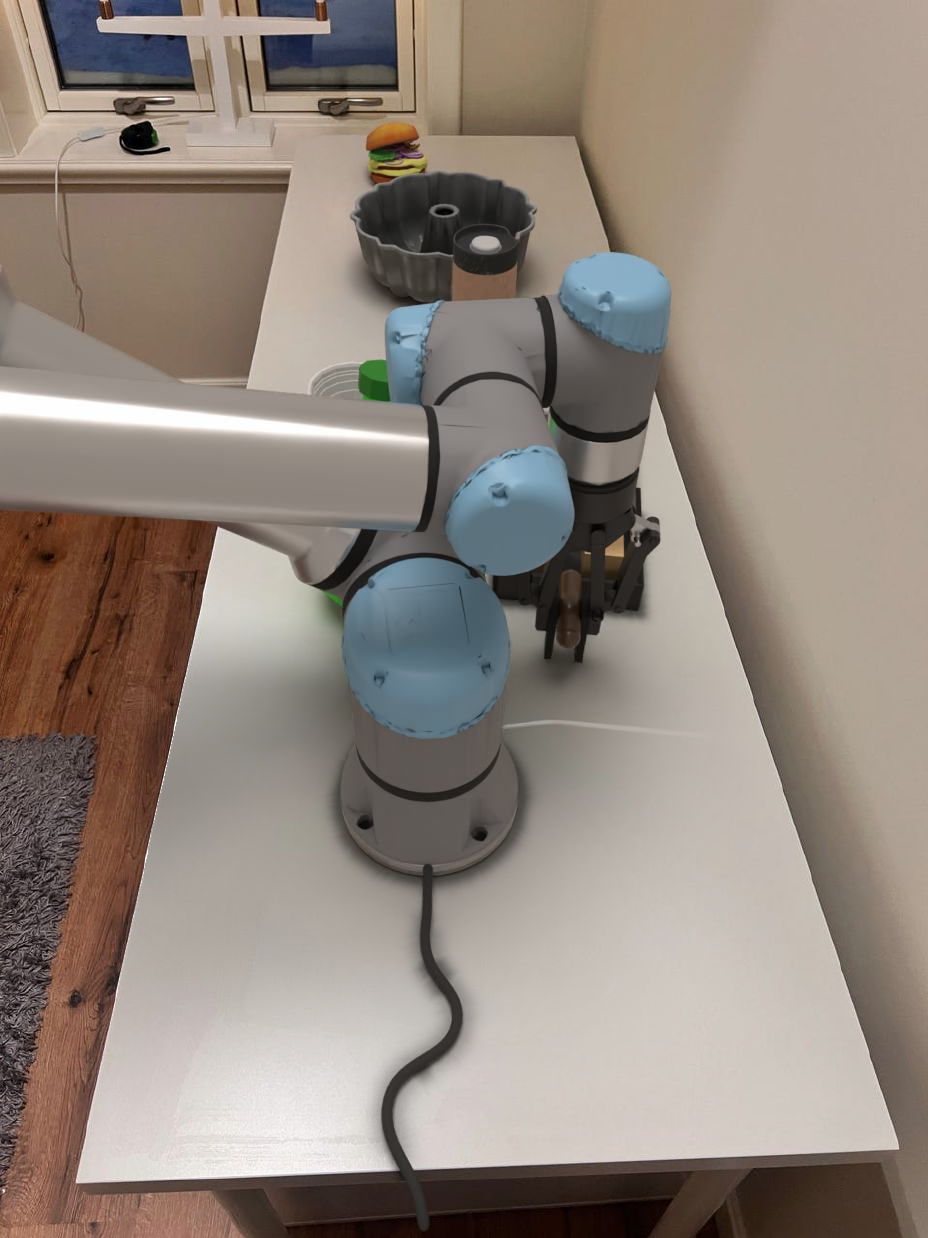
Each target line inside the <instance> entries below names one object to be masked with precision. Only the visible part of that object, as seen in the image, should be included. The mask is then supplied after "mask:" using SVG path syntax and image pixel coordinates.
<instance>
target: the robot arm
mask: <svg viewBox="0 0 928 1238" xmlns="http://www.w3.org/2000/svg"><path fill="white" fill-rule="evenodd" d="M671 287H672V286H671V284H670V281H669V279H668V278H667V277H666V274H665V273H664V272H663V271H662V269H660V268H659V267H658V266H657V265H655V264H654V263H652V262H651V261H649V260H647V259H645V258H643V257H640V256H636V255H633V254H629V253H625V252H624V253H623V252H614V251H607V252H606V251H605V252H595V253H592V254H589V256H588V258H587V257H582V258H578V259H576V260H574V261H573V262H571V263H570V264H569V265H568V267H567V268H566V269H565V270H564V273H563V276H562V281H561V284H559V288H558V289H557V290H558V291H557V294H547V295H546V294H543V295H541V296H537V297H515V298H511V299H489V300H468V301H447V302H445V301H443V300H441V299H439V300H436V301H434V302H430V303H423V304H417V305H416V304H415V305H408V306H399V307H397V308H394V309H393V310H392V311H390V312H389V313H388V315H387V317H386V319H385V323H384V351H385V360H386V367H387V378H388V387H389V395H390V401H391V402H384V401H373V400H362V399H352V398H341V397H330V396H319V395H308V394H307V393H295V392H285V391H275V390H274V391H273V390H264V389H254V388H253V389H252V388H242V387H232V386H231V387H230V386H221V385H210V384H209V385H208V384H198V383H187V382H184V381H182V380H180V379H179V378H176V377H175V376H172V375H170V374H169V373H166V372H164V371H162V370H160V369H158V368H156V367H154V366H152V365H150V364H148V363H146V362H144V361H142V360H140V359H138V358H136V357H134V356H132V355H130V354H128V353H126V352H123V351H122V350H120V349H118V348H115V347H114V346H111V345H110V344H108V343H105V342H104V341H101V340H99V339H98V338H95V337H93V336H91V335H89V334H88V333H85V332H83V331H81V330H79V329H77V328H75V327H73V326H71V325H69V324H67V323H65V322H63V321H61V320H59V319H57V318H55V317H53V316H51V315H49V314H47V313H45V312H43V311H41V310H39V309H37V308H35V307H33V306H31V305H29V304H27V303H25V302H22V301H21V299H20V298H19V297H18V296H17V295H16V293H15V291H14V289H13V286H12V284H11V282H10V279H9V277H8V276H7V273H6V271H5V269H4V267H3V265H2V264H0V511H10V512H11V511H12V512H13V511H15V512H29V513H30V512H31V513H51V514H68V515H69V514H72V515H86V516H87V515H88V516H107V517H108V516H110V517H127V518H147V519H163V520H164V519H167V520H184V521H185V520H186V521H203V522H206V523H208V524H211V525H213V526H215V527H218V528H220V529H223V530H225V531H227V532H230V533H232V534H234V535H237V536H240V537H242V538H243V539H247V540H249V541H251V542H254V543H256V544H259V545H261V546H263V547H265V548H268V549H271V550H273V551H276V552H278V553H281V554H282V555H286V556H287V557H288V560H289V563H290V565H291V568H292V570H293V574H294V576H295V577H296V579H297V580H298V581H299V582H301V583H302V584H304V585H308V586H310V587H312V588H315V589H318V590H319V591H322V592H323V591H325V592H327V593H330V594H332V595H335V596H337V597H339V598H340V599H341V600H342V606H341V609H342V610H341V612H342V621H343V634H342V636H341V659H342V665H343V670H344V673H345V676H346V678H347V684H348V691H349V700H350V701H349V702H350V708H351V718H352V725H353V732H354V733H353V734H354V740H355V741H354V743H353V744H352V747H351V750H350V751H349V754H348V755H347V757H346V760H345V763H344V766H343V768H342V771H341V775H340V782H339V799H340V806H341V812H342V816H343V820H344V823H345V826H346V828H347V830H348V832H349V834H350V836H351V837H352V839H353V840H354V842H355V843H356V845H358V847H359V848H360V849H361V851H363V852H364V853H365V854H366V855H368V856H369V857H370V858H372V859H373V860H375V861H376V862H377V863H378V864H380V865H382V866H384V867H386V868H389V869H391V870H394V871H397V872H400V873H403V874H407V875H414V876H422V895H421V898H422V901H421V916H420V917H421V918H420V927H419V946H420V953H421V957H422V960H423V963H424V965H425V967H426V969H427V970H428V973H429V974H430V976H431V978H432V979H433V980H434V981H435V983H436V984H437V986H438V987H439V988H440V990H441V991H442V992H443V994H444V995H445V997H446V999H447V1000H448V1002H449V1006H450V1009H451V1022H450V1025H449V1029H448V1031H447V1032H446V1034H445V1035H444V1036H443V1038H442V1039H440V1041H439V1042H437V1043H436V1044H435V1045H434V1046H432V1047H430V1049H428V1050H426V1051H425V1052H423V1053H422V1054H420V1055H418V1056H417V1057H415V1058H414V1059H412V1060H410V1061H409V1062H408V1063H406V1064H405V1065H404V1066H403V1067H401V1068H400V1069H399V1070H398V1072H396V1073H395V1075H394V1076H393V1077H392V1078H391V1080H390V1081H389V1082H388V1085H387V1087H386V1088H385V1092H384V1094H383V1098H382V1103H381V1117H380V1118H381V1127H382V1132H383V1135H384V1139H385V1142H386V1145H387V1147H388V1150H389V1151H390V1153H391V1154H390V1155H391V1156H392V1159H393V1161H394V1163H395V1165H397V1168H398V1170H399V1172H400V1174H401V1176H402V1178H403V1180H404V1181H405V1184H406V1185H407V1186H406V1187H407V1189H408V1191H409V1193H410V1196H411V1199H412V1202H413V1206H414V1210H415V1215H416V1221H417V1226H418V1228H419V1230H420V1231H421V1232H426V1231H428V1230H429V1228H430V1215H429V1210H428V1205H427V1200H426V1197H425V1193H424V1190H423V1188H422V1185H421V1183H420V1181H419V1179H418V1176H417V1174H416V1172H415V1170H414V1168H413V1166H412V1164H411V1162H410V1160H409V1159H408V1156H407V1155H406V1153H405V1151H404V1149H403V1147H402V1145H401V1143H400V1140H399V1138H398V1135H397V1132H396V1128H395V1123H394V1104H395V1100H396V1096H397V1094H398V1091H399V1089H400V1087H401V1085H402V1084H403V1083H405V1082H406V1080H408V1078H409V1077H411V1076H412V1075H413V1074H415V1073H417V1072H418V1071H419V1070H421V1069H422V1068H424V1067H426V1066H427V1065H428V1064H430V1063H432V1062H433V1061H435V1060H436V1059H438V1058H439V1057H440V1056H442V1055H443V1054H444V1053H445V1052H446V1051H448V1050H449V1049H450V1048H451V1046H452V1045H453V1044H454V1043H455V1041H456V1040H457V1038H458V1036H459V1034H460V1032H461V1028H462V1024H463V1016H464V1012H463V1005H462V1003H461V1000H460V997H459V995H458V993H457V991H456V990H455V988H454V987H453V985H452V984H451V983H450V981H449V980H448V978H447V977H446V976H445V974H444V973H443V972H442V970H441V969H440V967H439V965H438V964H437V962H436V960H435V957H434V954H433V951H432V945H431V926H432V916H433V881H434V879H433V876H434V877H435V876H442V875H443V876H444V875H448V874H449V875H450V874H453V873H457V872H460V871H463V870H466V869H468V868H470V867H472V866H474V865H476V864H478V863H480V862H481V861H483V860H484V859H485V858H487V857H488V856H490V855H491V854H492V853H493V852H494V851H496V849H497V848H498V847H500V845H501V844H502V843H503V841H504V840H505V839H506V837H507V835H508V834H509V832H510V830H511V828H512V826H513V823H514V821H515V818H516V813H517V811H518V810H517V809H518V801H519V794H520V793H519V788H520V786H519V785H520V783H519V776H518V772H517V771H518V770H517V768H516V765H515V762H514V760H513V758H512V755H511V753H510V751H509V750H508V747H507V746H506V744H505V741H504V740H503V738H502V736H503V735H502V734H503V725H504V713H505V712H504V711H505V701H506V691H507V682H508V679H507V678H508V675H509V673H510V667H511V654H512V650H511V646H512V645H511V644H512V643H511V642H512V641H511V636H510V630H509V627H508V621H507V617H506V613H505V610H504V608H503V605H502V603H501V601H500V599H498V597H497V596H496V594H495V593H494V591H493V590H492V587H491V586H490V585H489V584H488V583H487V579H486V575H491V576H493V575H497V576H507V575H515V574H516V584H517V595H518V600H517V602H518V603H519V604H520V605H521V606H529V605H533V606H534V607H535V609H536V610H535V619H534V620H535V621H534V628H535V630H536V631H538V632H545V636H544V647H543V648H544V649H543V660H544V661H552V659H553V652H554V646H555V640H556V625H557V617H558V601H559V593H555V592H556V589H557V586H558V582H559V579H560V576H561V572H562V569H563V566H564V562H566V559H567V556H568V552H569V551H573V550H582V551H585V552H589V553H591V597H590V596H584V595H582V600H581V635H580V641H579V643H578V645H577V646H575V647H574V655H573V656H574V658H573V661H574V662H573V663H576V664H583V659H584V654H585V649H586V643H587V638H588V636H595V637H596V636H598V635H599V634H600V631H601V627H602V626H601V625H602V622H603V621H604V619H605V613H606V612H610V611H611V612H612V613H615V614H622V613H623V612H625V611H626V610H625V608H626V605H627V603H628V601H629V598H630V596H631V593H632V591H633V589H634V586H635V584H636V581H637V579H638V576H639V574H640V572H641V569H642V567H643V568H644V564H645V562H646V559H647V557H648V556H649V555H650V554H651V553H652V552H653V551H654V550H655V549H656V548H657V547H659V545H660V544H661V523H660V519H659V518H658V517H657V516H649V517H647V518H644V517H643V516H642V517H640V516H638V515H636V510H635V507H634V505H633V500H634V495H635V490H636V487H637V485H638V484H637V483H638V481H639V480H638V479H639V475H640V465H641V462H642V458H643V455H644V449H645V445H646V444H645V443H646V439H647V433H648V427H649V423H650V417H651V411H652V410H651V408H652V404H653V399H654V395H655V391H656V388H657V387H656V385H657V383H658V377H659V374H660V373H659V372H660V368H661V365H662V359H663V355H664V351H665V349H666V347H667V345H668V332H669V331H668V330H669V325H670V318H671V317H670V316H671V306H672V305H671V304H672V288H671ZM544 409H548V413H547V415H548V423H547V420H546V418H545V415H546V414H545V410H544ZM629 530H630V542H629V545H628V547H627V550H626V552H625V555H624V557H623V560H622V563H621V565H620V568H619V570H618V573H617V575H616V578H615V581H614V583H613V586H612V589H611V590H606V591H604V586H605V548H607V547H608V546H610V545H611V544H612V543H614V542H615V541H616V540H618V539H619V538H620V537H621V536H623V535H624V534H625V533H627V532H628V531H629ZM544 563H546V564H545V567H544V571H543V574H542V578H541V581H539V585H537V584H534V583H533V577H532V569H535V568H537V567H539V566H541V565H542V564H544Z"/></svg>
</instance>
